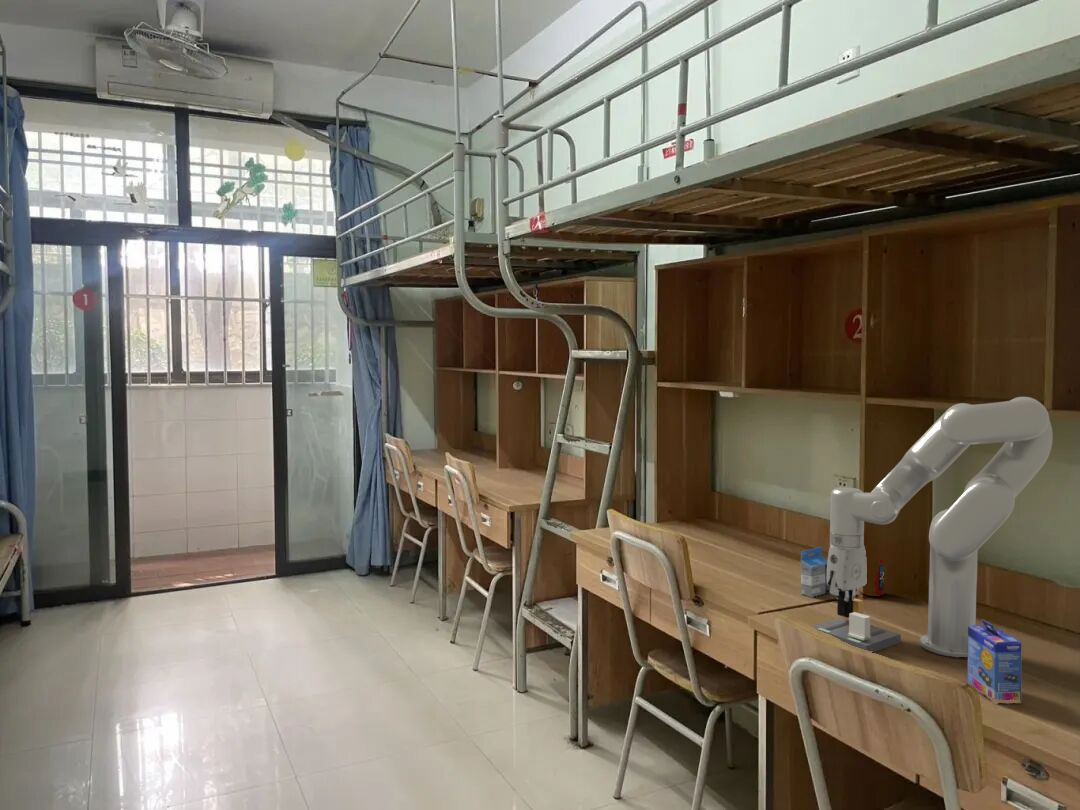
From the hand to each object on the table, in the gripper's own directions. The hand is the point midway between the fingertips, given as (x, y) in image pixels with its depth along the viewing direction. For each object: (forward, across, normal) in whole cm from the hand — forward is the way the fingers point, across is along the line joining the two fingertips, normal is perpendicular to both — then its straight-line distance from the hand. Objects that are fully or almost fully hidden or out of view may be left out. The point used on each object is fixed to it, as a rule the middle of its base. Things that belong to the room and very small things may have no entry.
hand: (845, 615), depth 193 cm
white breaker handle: (+2, -6, -8) cm, 10 cm away
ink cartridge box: (+4, -7, -38) cm, 39 cm away
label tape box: (+4, +21, +24) cm, 32 cm away
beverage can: (+4, +33, +15) cm, 36 cm away
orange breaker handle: (+2, +3, 0) cm, 4 cm away
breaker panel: (+4, -2, -4) cm, 6 cm away
